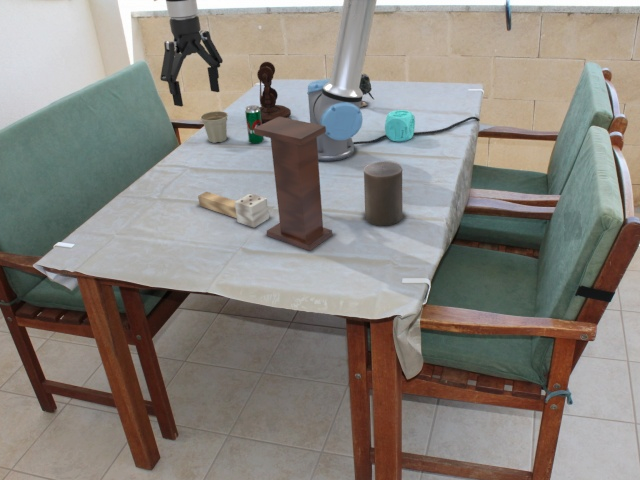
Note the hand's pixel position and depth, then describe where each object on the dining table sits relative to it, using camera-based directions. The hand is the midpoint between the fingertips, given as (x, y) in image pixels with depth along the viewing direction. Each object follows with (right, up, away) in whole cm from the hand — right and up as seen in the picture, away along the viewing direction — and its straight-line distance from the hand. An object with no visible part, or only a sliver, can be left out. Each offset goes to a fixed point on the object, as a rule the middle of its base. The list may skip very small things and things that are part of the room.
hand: (197, 98), depth 176 cm
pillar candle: (+50, -33, -8) cm, 61 cm away
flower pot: (-2, -2, +47) cm, 47 cm away
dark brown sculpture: (+16, +8, +62) cm, 64 cm away
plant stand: (+28, -38, -14) cm, 50 cm away
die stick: (+9, -31, -1) cm, 33 cm away
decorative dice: (+60, -3, +38) cm, 71 cm away
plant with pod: (+48, +15, +68) cm, 85 cm away
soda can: (+12, -4, +43) cm, 45 cm away
